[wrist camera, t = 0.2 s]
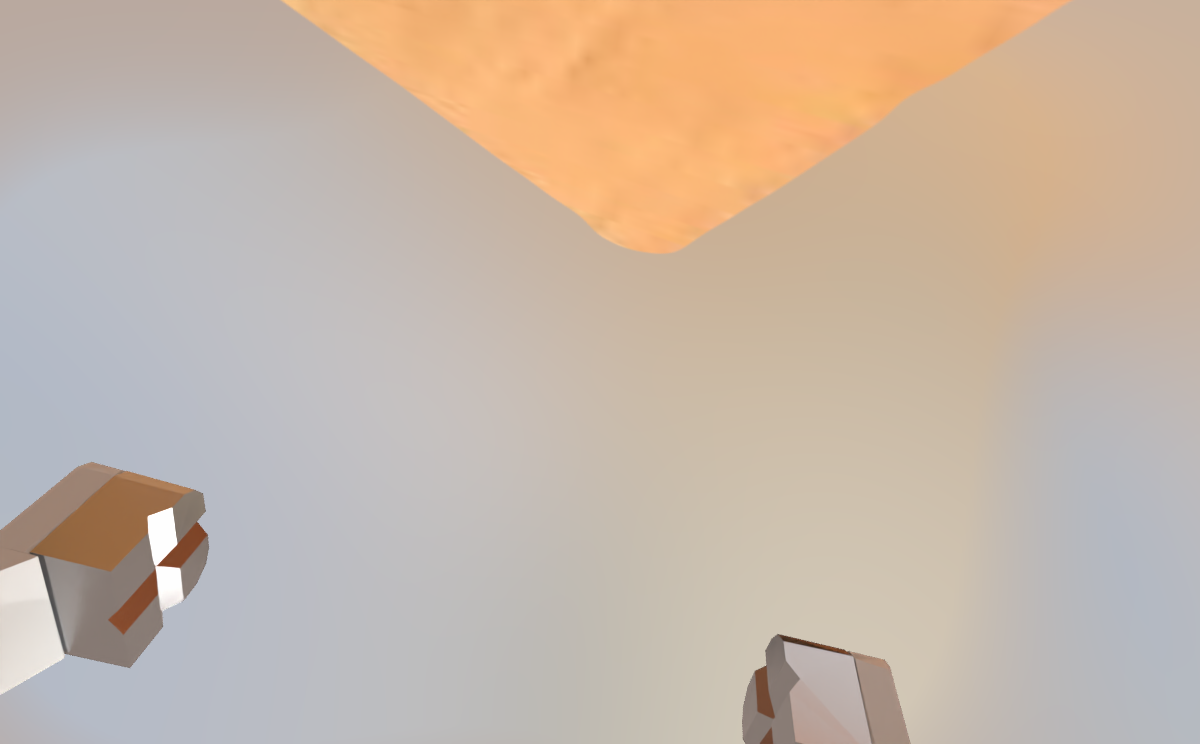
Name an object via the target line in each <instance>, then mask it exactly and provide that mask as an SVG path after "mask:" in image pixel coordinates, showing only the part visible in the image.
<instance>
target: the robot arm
mask: <svg viewBox="0 0 1200 744" xmlns="http://www.w3.org/2000/svg"><path fill="white" fill-rule="evenodd" d="M205 511H206V510H205V504H204V498H203V493H201V492H198V491H196V490H193V489H190V488H186V487H182V486H179V485H175V484H172V483H168V482H164V481H161V480H157V479H153V478H150V477H147V476H143V475H139V474H136V473H132V472H128V471H123V470H119V469H116V468H112V467H108V466H105V465H100V464H97V463H93V462H91V463H88V464H84V465H81V466H79V467H77V468H76V469H74V470H73V471H72V472H71V473H69V474H68V475H67V476H66V477H65V478H63V479H62V480H61V481H60V482H59V483H57V484H56V485H55V486H54V487H52V488H51V489H50V490H49V491H48V492H46V493H45V494H44V495H43V496H42V497H40V498H39V499H38V500H37V501H35V502H34V503H33V504H32V505H31V506H29V507H28V508H27V509H26V510H25V511H23V512H22V513H21V514H20V515H18V516H17V517H16V518H15V519H14V520H12V521H11V522H10V523H9V524H8V525H6V526H5V527H4V528H3V529H1V530H0V695H1V694H2V693H4V692H6V691H8V690H9V689H11V688H13V687H15V686H16V685H18V684H20V683H22V682H23V681H25V680H27V679H28V678H30V677H32V676H34V675H36V674H37V673H39V672H41V671H43V670H44V669H46V668H48V667H50V666H51V665H53V664H55V663H56V662H58V661H60V660H62V659H63V658H64V657H65V655H64V654H69V655H73V656H78V657H82V658H87V659H91V660H96V661H100V662H105V663H110V664H114V665H119V666H124V667H128V668H130V667H131V666H132V665H133V663H134V662H135V661H136V660H137V658H138V657H139V656H140V655H141V654H142V652H143V651H144V650H145V649H146V647H147V646H148V645H149V644H150V642H151V641H152V640H153V639H154V637H155V636H156V635H157V634H158V632H159V631H160V630H161V629H162V627H163V619H162V611H163V610H165V609H167V608H169V607H171V606H174V605H175V604H178V603H180V602H182V601H184V599H185V598H186V597H187V595H188V594H189V593H190V592H191V590H192V589H193V588H194V586H195V585H196V584H197V582H198V580H199V577H200V575H201V573H202V571H203V569H204V567H205V564H206V561H207V555H208V550H209V544H208V534H207V533H206V532H205V531H204V529H203V528H202V527H201V526H200V525H199V523H198V522H197V521H198V520H199V518H200V517H201V516H202V515H203V514H204V513H205ZM766 664H767V665H766V666H764V667H762V668H760V669H758V670H756V671H755V672H754V674H753V676H752V679H751V681H750V683H749V685H748V688H747V693H746V697H745V701H744V706H743V719H742V724H743V725H742V727H743V740H744V742H745V744H910V740H909V736H908V733H907V729H906V725H905V721H904V718H903V714H902V710H901V706H900V703H899V699H898V695H897V692H896V688H895V684H894V680H893V676H892V673H891V669H890V666H889V665H888V664H887V663H886V661H885V660H883V659H879V658H875V657H870V656H866V655H862V654H858V653H854V652H850V651H845V650H843V649H839V648H835V647H831V646H826V645H822V644H818V643H814V642H809V641H805V640H801V639H797V638H793V637H788V636H784V635H779V634H777V635H776V636H775V637H773V638H772V639H771V641H770V643H769V645H768V647H767V649H766Z"/></svg>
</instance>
